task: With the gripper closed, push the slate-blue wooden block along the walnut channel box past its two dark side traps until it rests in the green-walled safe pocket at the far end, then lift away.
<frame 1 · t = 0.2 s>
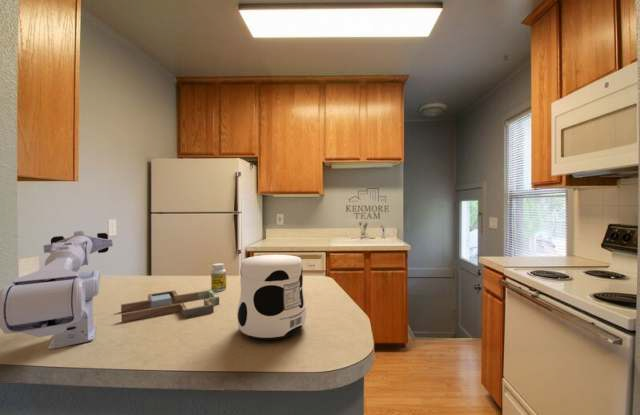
hand: (84, 241, 87), 21 cm above the countertop, tool horizontal, fingers open, 7 cm apart
block: (161, 310, 89), resting in trap box
supplement bottle: (218, 290, 110), on the countertop
trap box: (170, 308, 91), on the countertop
milk container: (272, 331, 75), on the countertop
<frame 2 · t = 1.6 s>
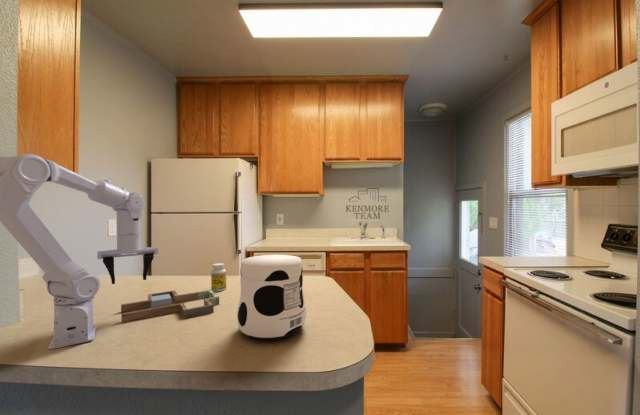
hand: (129, 281, 84), 10 cm above the countertop, tool pointing down, fingers open, 7 cm apart
nothing on the countertop moved.
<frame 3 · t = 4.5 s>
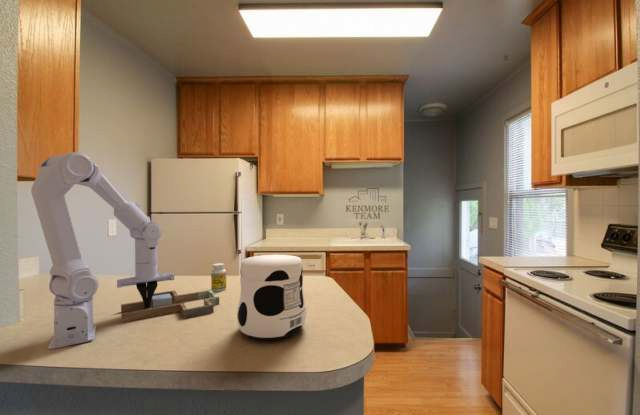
hand: (147, 307, 87), 1 cm above the countertop, tool pointing down, fingers closed
block: (161, 309, 89), resting in trap box, touching gripper
everything else where it was.
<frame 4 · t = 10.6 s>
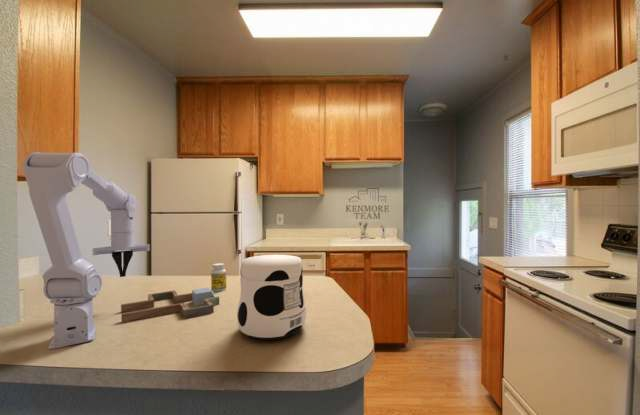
hand: (122, 276, 91), 10 cm above the countertop, tool pointing down, fingers closed
block: (202, 302, 96), resting in trap box
everything else where it was.
at the end: block 0.1 cm from the target spot on the trap box, point 0.0 cm above the trap box's base; block tilted 0° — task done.
